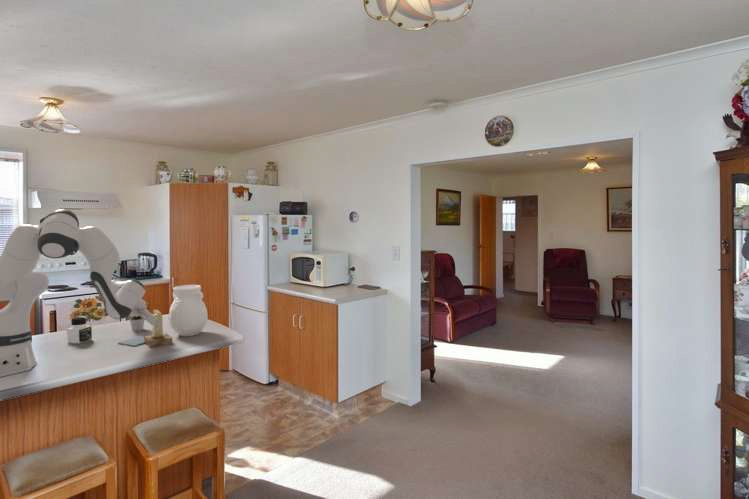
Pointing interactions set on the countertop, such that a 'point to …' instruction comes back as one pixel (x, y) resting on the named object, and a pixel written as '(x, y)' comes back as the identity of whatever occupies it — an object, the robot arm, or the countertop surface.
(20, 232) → the robot arm
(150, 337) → the socket block
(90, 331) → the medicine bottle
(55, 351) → the countertop surface
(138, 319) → the house plant
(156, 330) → the t key
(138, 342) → the slate mat
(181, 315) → the white vase
